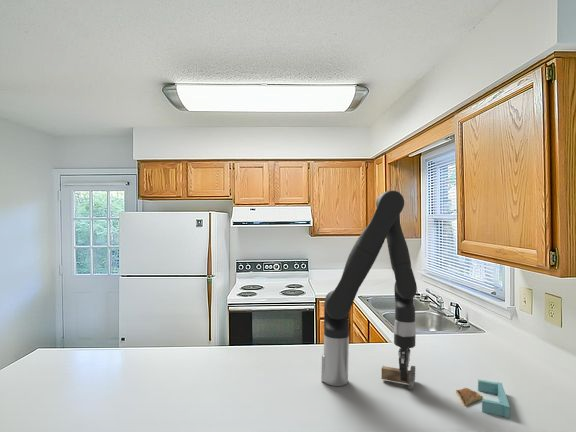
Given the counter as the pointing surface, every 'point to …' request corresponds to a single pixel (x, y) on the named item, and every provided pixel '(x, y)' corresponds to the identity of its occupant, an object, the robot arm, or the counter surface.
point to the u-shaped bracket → (493, 406)
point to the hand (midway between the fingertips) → (404, 379)
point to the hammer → (398, 375)
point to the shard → (468, 396)
